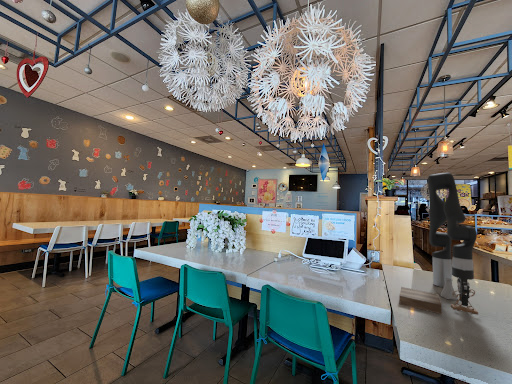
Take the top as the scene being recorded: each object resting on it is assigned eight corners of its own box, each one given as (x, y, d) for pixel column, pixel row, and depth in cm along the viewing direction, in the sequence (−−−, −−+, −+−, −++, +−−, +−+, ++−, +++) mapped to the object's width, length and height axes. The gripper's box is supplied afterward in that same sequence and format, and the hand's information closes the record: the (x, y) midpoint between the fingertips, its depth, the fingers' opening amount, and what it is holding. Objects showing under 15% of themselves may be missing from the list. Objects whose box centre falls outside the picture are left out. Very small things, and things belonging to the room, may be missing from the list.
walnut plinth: (401, 294, 121) (401, 286, 121) (438, 302, 111) (438, 294, 112) (399, 303, 108) (399, 295, 108) (441, 314, 99) (441, 305, 99)
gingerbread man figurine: (452, 308, 104) (451, 283, 105) (450, 306, 108) (450, 281, 108) (478, 314, 100) (477, 287, 100) (475, 311, 103) (474, 285, 104)
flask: (461, 301, 114) (461, 281, 114) (445, 299, 115) (445, 280, 116) (452, 295, 121) (451, 277, 122) (437, 294, 122) (436, 276, 123)
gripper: (450, 263, 113) (451, 297, 112) (454, 269, 101) (455, 306, 100) (470, 265, 109) (471, 301, 107) (476, 272, 97) (478, 311, 96)
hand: (463, 303), depth 104 cm, fingers open, 5 cm apart
